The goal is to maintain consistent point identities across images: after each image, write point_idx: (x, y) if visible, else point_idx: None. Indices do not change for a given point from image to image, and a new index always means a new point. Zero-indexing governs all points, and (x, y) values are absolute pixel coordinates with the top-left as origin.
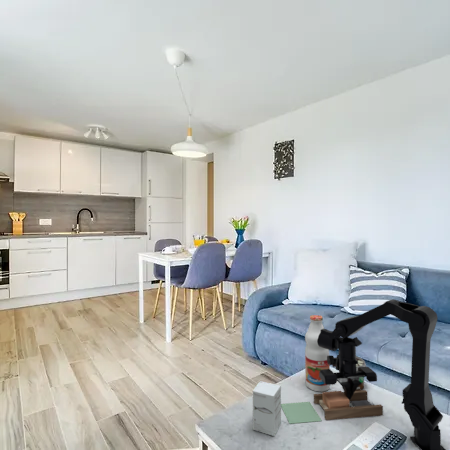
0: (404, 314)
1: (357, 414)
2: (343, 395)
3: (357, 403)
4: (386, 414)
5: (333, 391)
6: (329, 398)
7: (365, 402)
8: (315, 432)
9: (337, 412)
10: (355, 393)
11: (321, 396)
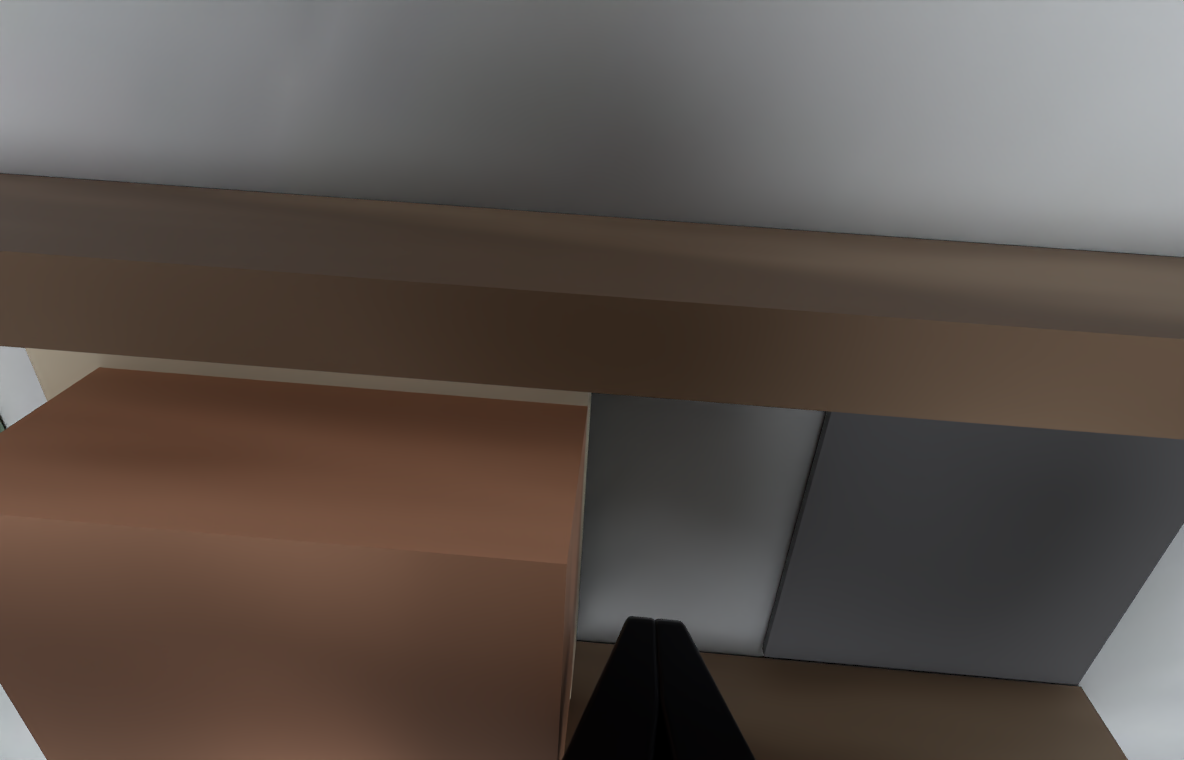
0: None
1: None
2: (507, 741)
3: (933, 433)
4: (1132, 715)
5: (283, 548)
6: (90, 753)
7: (1136, 439)
8: (8, 749)
9: None
10: (1102, 418)
11: (25, 331)
